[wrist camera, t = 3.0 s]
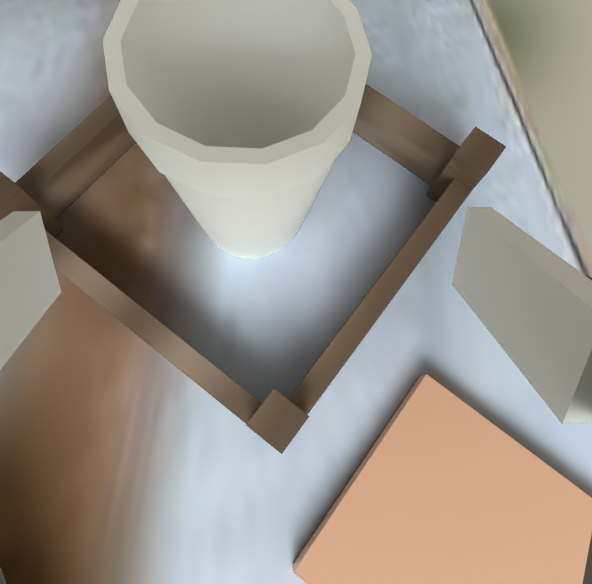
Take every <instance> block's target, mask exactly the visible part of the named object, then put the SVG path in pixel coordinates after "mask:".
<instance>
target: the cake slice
mask: <svg viewBox="0 0 592 584" xmlns="http://www.w3.org/2000/svg"><path fill="white" fill-rule="evenodd" d="M0 584H6V581H5V578H4V576H3V573H2V570H1V568H0Z"/></svg>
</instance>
